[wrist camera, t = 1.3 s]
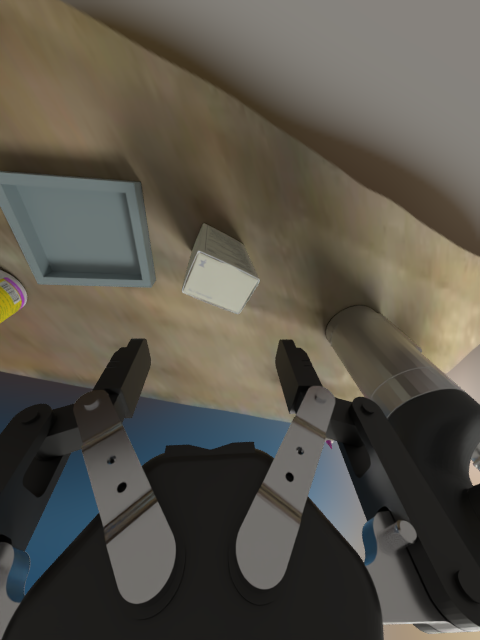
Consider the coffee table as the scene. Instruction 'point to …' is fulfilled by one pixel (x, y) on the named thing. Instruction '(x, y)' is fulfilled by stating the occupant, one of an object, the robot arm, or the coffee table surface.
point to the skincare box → (220, 271)
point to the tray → (79, 229)
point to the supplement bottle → (10, 295)
